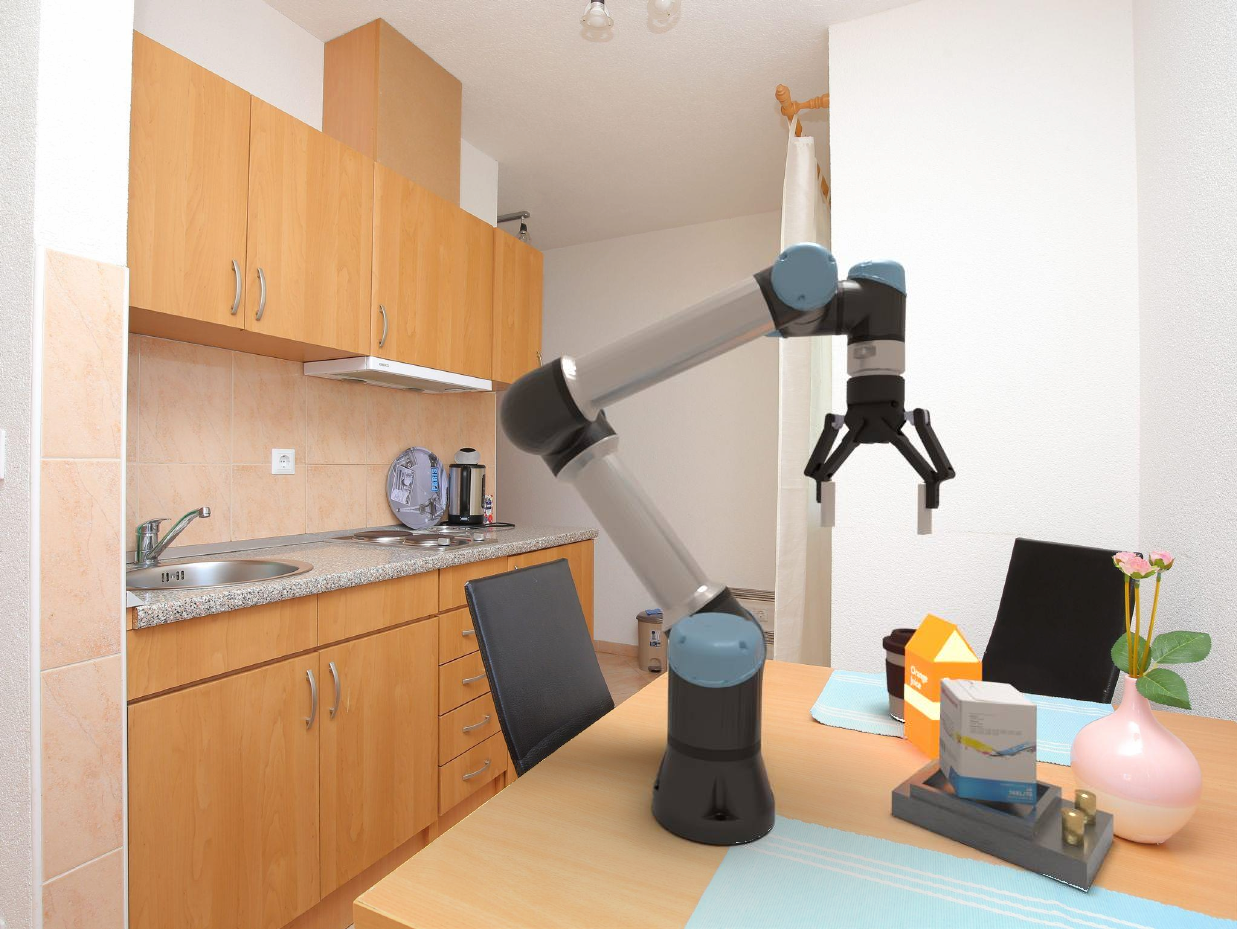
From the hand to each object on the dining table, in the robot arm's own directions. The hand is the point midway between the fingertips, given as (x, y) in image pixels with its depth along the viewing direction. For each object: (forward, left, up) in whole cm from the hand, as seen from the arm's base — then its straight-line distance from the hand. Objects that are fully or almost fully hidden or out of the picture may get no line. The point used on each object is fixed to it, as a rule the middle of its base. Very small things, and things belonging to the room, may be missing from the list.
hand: (873, 530), depth 89 cm
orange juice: (+2, +20, -35) cm, 40 cm away
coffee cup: (-6, +29, -35) cm, 46 cm away
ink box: (+14, +1, -30) cm, 33 cm away
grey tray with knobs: (+15, +1, -35) cm, 38 cm away
